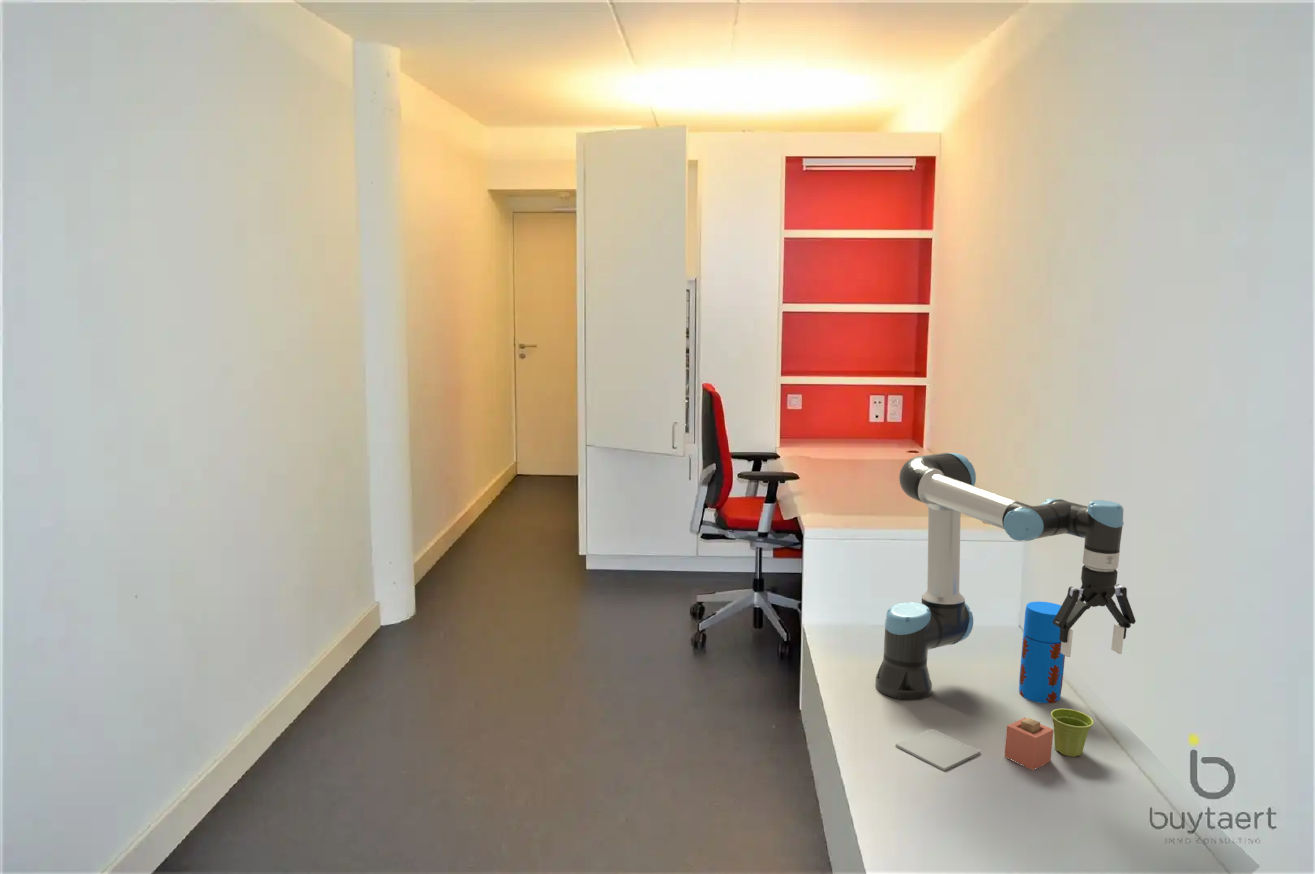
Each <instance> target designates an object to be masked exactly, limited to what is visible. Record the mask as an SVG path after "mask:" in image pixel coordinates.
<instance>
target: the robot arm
mask: <svg viewBox="0 0 1315 874" xmlns="http://www.w3.org/2000/svg"><path fill="white" fill-rule="evenodd" d="M898 477H899V478H898V479H899V485H900V488H901V489H902V491H903V492H904V493H905V495H907V496H908V497H910V498H912V499H914V500H916V501H918V502H921V503H923V504H925V505H926V506H927V508H928V510H927V512H928V513H927V514H928V517H927V518H928V520H927V523H928V524H927V528H928V529H927V583H926V584H927V587H926V588H927V590H926V591H925V592H924V593H923V594H922V595H921V603H920V602H916V601H915V602H914V601H909V602H908V601H904V602H898V603H895V604H893V605H891V606H890V607H889V608H888V610H887V612H886V618H885V620H884V642H883V643H884V645H883V657H882V658H883V659H882V661H881V664H880V666H879V669H878V671H877V674H876V676H875V683H874V685H875V688H876V690H877V691H878V692H880V693H881V694H883V695H885V696H888V697H890V698H894V699H899V700H906V701H916V700H917V701H918V700H923V699H926V698H928V697H930V696H931V695H932V692H933V689H932V688H933V683H932V680H931V677H930V672H929V668H928V655H929V654H928V652H929V650H932V649H937V648H941V647H946V646H949V645H950V646H951V645H955V644H958V643H959V642H963V641H964V640H965V639H967V638H968V637H969V636H970V634H971V633H972V630H973V626H974V616H973V612H972V611H971V608H970V605H968V604H967V603H966V599H965V596H963V594H962V593H961V592H960V579H961V578H960V577H961V576H960V575H961V574H960V573H961V571H960V568H961V567H960V565H961V564H960V562H961V514H963V515H965V516H968V517H970V518H973V519H976V520H979V521H981V522H984V523H987V524H988V525H992V526H994V527H997V528H1000V529H1002V530H1004V531H1005V533H1006V534H1007V535H1008V536H1009V537H1010V538H1011V539H1012V540H1014V541H1019V542H1023V541H1025V542H1028V541H1029V542H1030V541H1033V540H1036V539H1042V538H1047V537H1054V536H1058V535H1059V536H1060V535H1063V534H1064V535H1065V534H1067V535H1071V536H1075V537H1079V538H1083V539H1084V544H1083V545H1084V547H1083V556H1082V564H1083V566H1081V577H1080V581H1081V586H1080V588H1079V587H1078V588H1076V587H1074V586H1069V587H1068V589H1067V595H1066V597H1065V599H1064V601H1063V602H1062V604H1061V608H1060V609H1059V611H1058V613H1057V615H1056V617H1055V618H1054V620H1053V624H1054V625H1056V626H1058V627H1059V628H1060V636H1059V639H1060V641H1062V642H1061V652H1060V653H1062V654H1063V655H1065V657H1067V658H1070V657H1071V653H1072V645H1073V644H1072V643H1073V635H1074V634H1073V633H1074V630H1072V629H1071V628H1072V627H1074V625H1075V624H1076V622H1077V621H1078V620H1079V619H1081V617H1082V615H1083V614H1084V613H1086V611H1087V610H1089V609H1091V607H1092V608H1096V607H1106V608H1107V610H1108V611H1109V613H1110V615H1112V616H1113V618H1114V620H1116V622H1117V623H1113V629H1112V630H1113V631H1112V639H1111V651H1113V652H1115V653H1116V654H1118V655H1121V654H1122V653H1123V645H1124V644H1123V643H1124V640H1126V637H1127V629H1130V628H1131V625H1134V624H1135V623H1136V617H1135V615H1134V613H1133V609H1132V607H1131V606H1132V605H1131V604H1130V602H1129V598H1128V588H1127V587H1126V586H1124V585H1121V584H1117V580H1118V570H1117V569H1118V568H1119V561H1120V553H1121V552H1120V551H1121V540H1122V533H1123V532H1122V531H1123V527H1124V507H1123V506H1122V505H1121V504H1120V503H1119V502H1115V501H1109V500H1104V499H1099V500H1098V499H1096V500H1095V499H1094V500H1092V501H1090V502H1088V506H1087V505H1082V504H1079V503H1075V502H1071V501H1067V500H1065V499H1061V498H1060V499H1058V498H1053V497H1052V498H1051V497H1050V498H1047V499H1045V501H1043V502H1042V503H1041V504H1040V505H1031V504H1030V505H1029V504H1026V503H1024V502H1021V501H1018V500H1015V499H1013V498H1009V497H1006V496H1004V495H1001V494H999V493H995V492H992V491H990V490H987V489H985V488H984V489H983V488H981V487H978V486H976V480H977V474H976V471H975V468H974V465H973V464H972V462H971V461H970V460H969V459H968V457H966V456H964V455H963V454H961V453H957V452H941V453H935V454H934V453H933V454H927V455H917V456H913V457H912V458H910V459H909V460H907V461H906V462H905V463H904V464H903V466H902V467H901V469H900V471H899V476H898ZM1114 595H1115V597H1116V600H1117V602H1118V605H1119V606H1117V604H1116V602H1115V601H1114V599H1113V597H1114ZM1118 607H1119V608H1120V609H1119V608H1118Z"/></svg>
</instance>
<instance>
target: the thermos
mask: <svg viewBox="0 0 1315 874" xmlns="http://www.w3.org/2000/svg"><path fill="white" fill-rule="evenodd" d="M1061 606H1062V604H1057V603H1053V602H1049V601H1048V602H1047V601H1030V602H1028V603H1027V604H1026V606H1025V611H1024V621H1023V631H1022V632H1023V633H1022V634H1023V635H1022V645H1021V654H1020V655H1021V656H1020V667H1019V668H1020V669H1019V678H1018V679H1019V681H1018V683H1019V684H1018V693H1019V695H1020V696H1021V697H1023V698H1024V699H1026V700H1028V701H1031V702H1034V703H1039V704H1055V703H1057V702H1060V700H1061V694H1062V689H1063V680H1064V671H1065V661H1066V656H1065V655H1063V654H1062V653H1060V652H1061V642H1062V641H1060V639H1059V636H1060V628H1059V627H1058V626H1056V625H1054V624H1053V620H1054V618H1055V617H1056V615H1057V613H1058V611H1059V609H1060V608H1061Z"/></svg>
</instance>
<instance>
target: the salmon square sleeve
mask: <svg viewBox="0 0 1315 874" xmlns="http://www.w3.org/2000/svg"><path fill="white" fill-rule="evenodd" d="M1026 718H1027V717H1023V718H1021V719H1019V720H1017V721H1016V720H1015V722H1014V721H1013V722H1012V723H1010V724H1008V725H1006V733H1005V734H1006V736H1005V745H1004V756H1005V757H1007V758H1009V759H1012V760H1014V761H1016V762H1018V763H1019V764H1018V763H1017V764H1018V765H1020V764H1022V765H1024V766H1025V768H1026V769H1029V768H1030V769H1029V770H1031V769H1032V771H1035V770H1036V769H1035V768H1037V769H1038V768H1041V767H1042V766H1044V765H1046V764H1048V763H1050V762H1051V761H1052V760H1051V759H1052V748H1053V741H1054V739H1053V738H1054V728H1051V727H1048V726H1046V725H1044V724H1041V723H1040V730H1039V732H1037V733H1035V734H1032V733H1030V732H1028V731H1025V730H1023V729H1021V721H1022V720H1024V719H1026ZM1005 757H1004V758H1005ZM1007 758H1006V759H1007ZM1009 759H1008V760H1009ZM1012 760H1011V761H1012ZM1014 761H1013V762H1014ZM1016 762H1015V763H1016ZM1022 765H1021V766H1022ZM1024 766H1023V767H1024ZM1034 769H1035V770H1034Z"/></svg>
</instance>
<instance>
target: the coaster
mask: <svg viewBox="0 0 1315 874" xmlns="http://www.w3.org/2000/svg"><path fill="white" fill-rule="evenodd" d="M895 747H896V748H898V749H900V750H902V751H904V752H905V753H908V754H910V755H912V756H914V757H916V758H918V759H920V760H921V761H923V762H925V763H928V764H929V765H931V766H933V767H935V768H938V769H940V770H942V771H943V772H945V771H947V770H949V769H951V768H953V767H956V766H957V765H959V764H962V763H964V762H966V761H967V760H970V759H973V758H974V757H976V756H979V755H980V754H981V750H979V749H976V748H974V747H972V746H970V745H968V744H966V743H964V742H962V741H960V740H958V739H955V738H953V737H951V736H948V735H947V734H945V733H942V732H941V731H939V730H937V729H934V728H929V729H926V730H925V731H922V732H921V733H918V734H916V735H913V736H911V737H909V738H906V739H904V740H902V741H899V742H897V743H895ZM975 755H976V756H975Z"/></svg>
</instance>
